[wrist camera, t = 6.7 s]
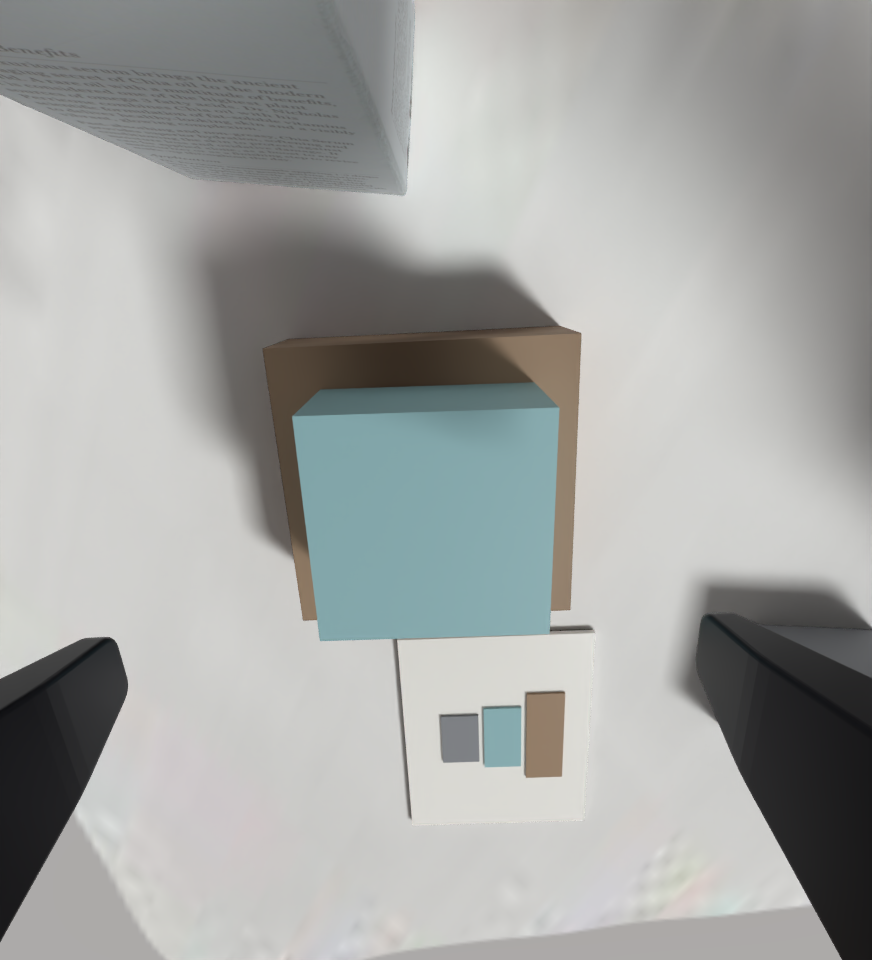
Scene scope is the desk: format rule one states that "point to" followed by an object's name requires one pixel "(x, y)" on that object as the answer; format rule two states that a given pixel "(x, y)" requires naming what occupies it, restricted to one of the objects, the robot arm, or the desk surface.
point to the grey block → (834, 644)
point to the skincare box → (226, 84)
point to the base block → (428, 362)
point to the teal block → (429, 509)
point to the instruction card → (497, 726)
